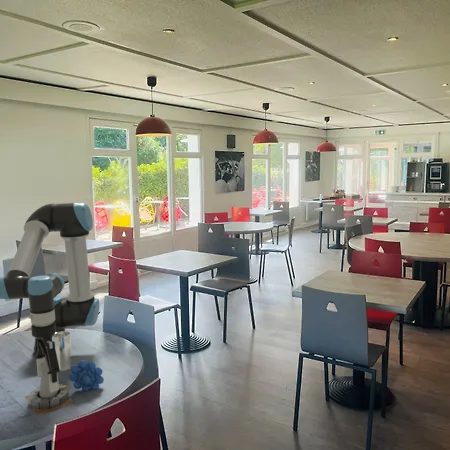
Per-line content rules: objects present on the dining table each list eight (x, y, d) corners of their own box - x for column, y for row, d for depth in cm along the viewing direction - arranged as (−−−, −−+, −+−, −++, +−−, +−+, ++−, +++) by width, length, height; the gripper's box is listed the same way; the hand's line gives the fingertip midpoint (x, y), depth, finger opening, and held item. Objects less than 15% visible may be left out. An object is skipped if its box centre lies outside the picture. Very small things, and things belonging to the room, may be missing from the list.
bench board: (24, 399, 158) (24, 396, 158) (59, 388, 166) (59, 385, 166) (38, 419, 146) (37, 415, 146) (75, 406, 153) (75, 403, 153)
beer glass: (76, 368, 182) (74, 331, 180) (65, 375, 176) (62, 338, 174) (62, 365, 185) (59, 330, 183) (50, 373, 178) (47, 336, 176)
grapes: (69, 400, 157) (67, 367, 155) (70, 391, 163) (68, 359, 162) (104, 395, 160) (102, 362, 159) (104, 386, 167) (102, 355, 165)
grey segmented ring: (25, 398, 157) (24, 390, 156) (61, 387, 164) (61, 379, 164) (35, 413, 147) (34, 404, 147) (74, 400, 154) (73, 392, 154)
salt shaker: (43, 396, 158) (39, 359, 157) (60, 394, 159) (56, 358, 157) (37, 404, 153) (33, 366, 151) (55, 402, 153) (51, 365, 152)
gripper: (21, 316, 160) (26, 373, 162) (42, 336, 140) (47, 401, 143) (43, 311, 164) (48, 367, 167) (67, 330, 144) (71, 393, 147)
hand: (48, 383), depth 155 cm, fingers open, 13 cm apart
